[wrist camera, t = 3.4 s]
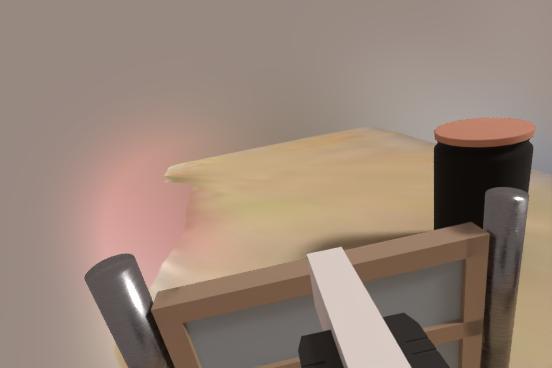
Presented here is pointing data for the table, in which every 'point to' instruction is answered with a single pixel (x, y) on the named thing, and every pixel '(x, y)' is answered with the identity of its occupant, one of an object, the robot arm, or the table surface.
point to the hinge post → (128, 311)
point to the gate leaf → (302, 313)
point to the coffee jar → (478, 165)
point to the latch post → (502, 271)
